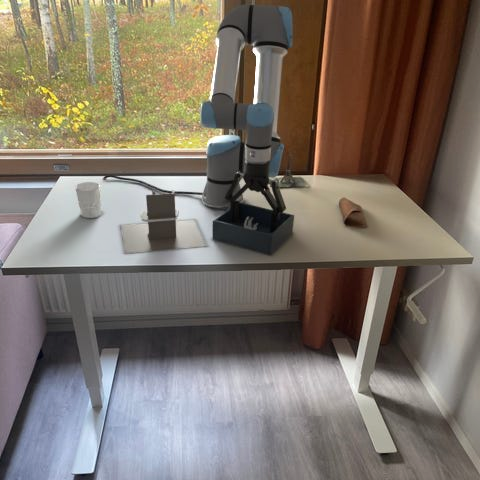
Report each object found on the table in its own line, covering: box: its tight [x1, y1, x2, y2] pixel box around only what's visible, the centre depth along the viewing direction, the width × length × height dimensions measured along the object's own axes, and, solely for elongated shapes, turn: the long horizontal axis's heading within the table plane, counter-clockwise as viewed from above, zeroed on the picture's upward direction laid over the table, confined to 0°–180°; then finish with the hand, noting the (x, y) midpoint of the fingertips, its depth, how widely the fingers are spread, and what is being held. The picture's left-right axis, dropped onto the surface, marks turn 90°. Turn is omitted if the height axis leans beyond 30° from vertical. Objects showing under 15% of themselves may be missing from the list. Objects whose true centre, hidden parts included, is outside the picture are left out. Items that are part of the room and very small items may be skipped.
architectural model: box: [120, 189, 207, 254], centre depth 159 cm, size 20×25×15 cm
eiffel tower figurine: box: [269, 150, 310, 188], centre depth 202 cm, size 15×10×13 cm
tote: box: [212, 202, 295, 256], centre depth 163 cm, size 21×18×7 cm
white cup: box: [74, 181, 102, 219], centre depth 171 cm, size 8×8×10 cm
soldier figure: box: [244, 217, 258, 230], centre depth 164 cm, size 8×5×12 cm
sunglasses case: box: [338, 197, 367, 228], centre depth 180 cm, size 18×7×7 cm, turn 178°
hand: (253, 226), depth 163 cm, fingers open, 13 cm apart
